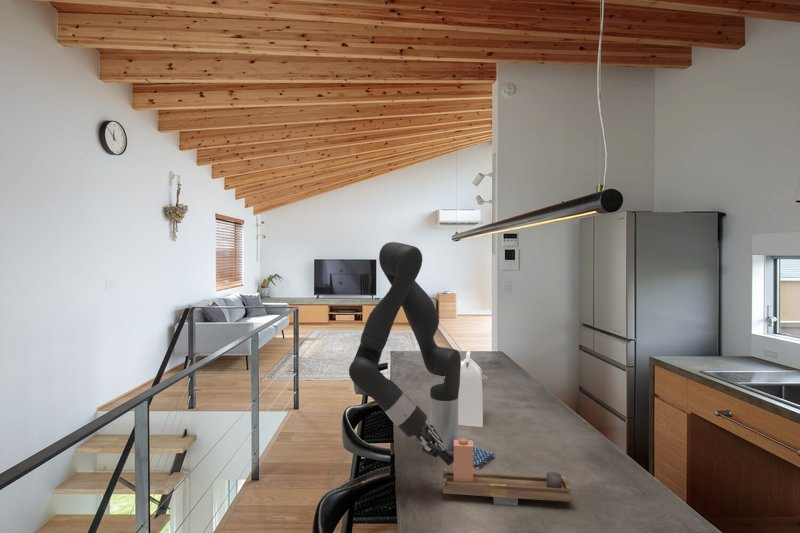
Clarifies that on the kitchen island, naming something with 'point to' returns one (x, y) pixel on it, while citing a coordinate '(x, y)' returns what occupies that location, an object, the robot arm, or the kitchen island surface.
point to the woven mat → (481, 458)
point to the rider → (463, 460)
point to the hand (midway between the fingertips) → (451, 461)
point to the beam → (510, 487)
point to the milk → (470, 394)
